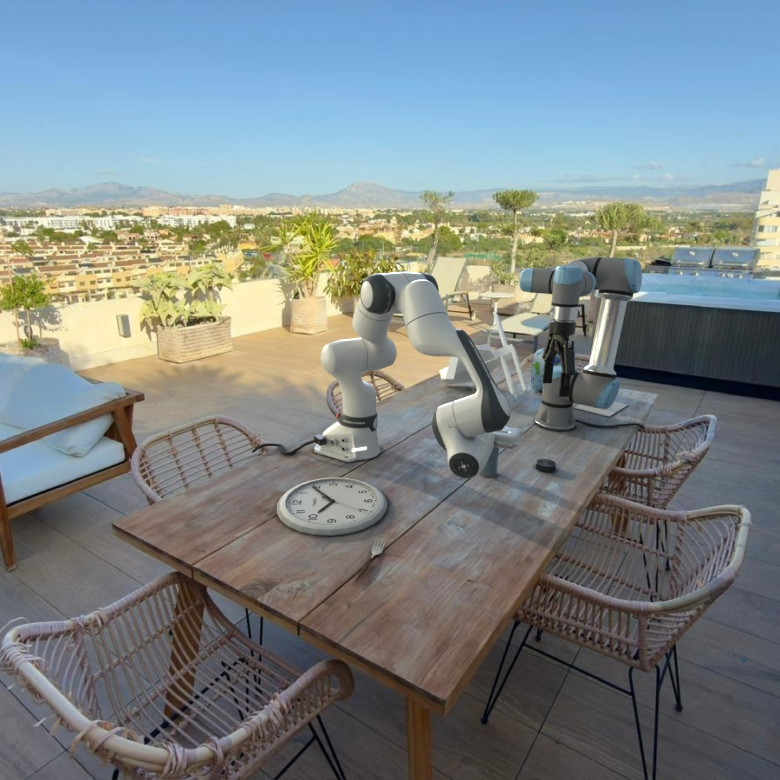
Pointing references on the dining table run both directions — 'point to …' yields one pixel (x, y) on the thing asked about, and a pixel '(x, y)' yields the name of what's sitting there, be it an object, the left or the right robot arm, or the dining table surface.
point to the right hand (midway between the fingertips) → (554, 389)
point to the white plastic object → (487, 363)
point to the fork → (375, 551)
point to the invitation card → (606, 412)
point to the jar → (491, 464)
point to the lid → (545, 465)
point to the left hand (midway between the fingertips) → (486, 423)
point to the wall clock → (331, 506)
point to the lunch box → (541, 369)
